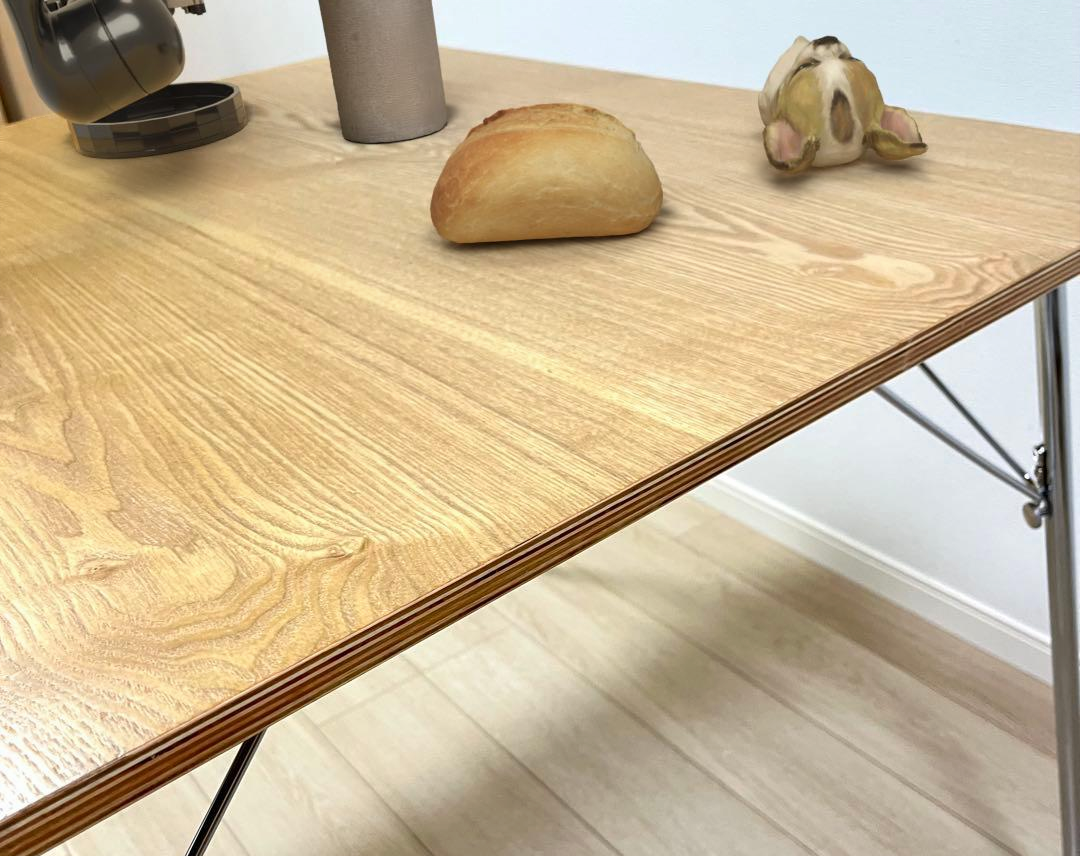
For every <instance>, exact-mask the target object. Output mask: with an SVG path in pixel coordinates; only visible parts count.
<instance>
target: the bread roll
mask: <svg viewBox="0 0 1080 856" xmlns="http://www.w3.org/2000/svg"><path fill="white" fill-rule="evenodd" d="M663 198H664V191H663V186H662V182H661V179H660V177H659V174H658V173H657V170H656V168H655V165H654V163H653V161H652V160H651V159H650V157H649V155H647V153H646V152H645V150H644V147H643V145H642V142H641V141H638V140H637V137H636V133H635V132H634V130H632V129H630V128H629V127H627V126H626V125H624V123H623V121H621V120H619V119H617V117H616V116H614V115H612V114H611V113H607V112H605V111H604V110H601V109H599V108H595V107H592V106H588V105H585V104H579V103H578V104H577V103H569V102H568V103H567V102H566V103H565V102H563V103H561V102H558V103H557V102H552V103H538V104H533V105H528V106H527V105H526V106H524V105H523V106H520V107H517V108H516V107H515V108H514V107H510V108H507V109H506V108H505V109H499V110H497V111H496V112H495V113H492V115H489V116H488V117H484V119H483V120H482V123H479V124H478V125H476V126H474V127H472V128H471V129H469V131H468V133H467V135H466V137H465V138H464V139H463V141H462V142H460V143H459V144H458V145H457V147H456V148H455V149H454V150H453V152H452V153H451V154H450V156H449V157H447V160H446V162H445V164H444V167H443V169H442V171H441V173H440V175H439V177H438V179H437V181H436V183H435V185H434V187H433V191H432V195H431V198H430V199H431V200H430V206H429V211H430V219H431V223H432V225H433V227H434V228H435V231H436V233H437V234H438V235H439V236H440V238H441V239H443V240H447V241H450V242H454V243H457V244H471V243H475V244H476V243H486V242H487V243H488V242H505V241H507V242H509V241H521V240H523V241H524V240H537V239H538V240H539V239H558V238H559V239H560V238H573V237H579V238H580V237H582V238H583V237H607V236H622V235H629V234H636V233H639V232H642V231H643V230H645V229H646V228H648V227H649V226H651V224H652V223H653V222H654V221H655V219H656V218H657V216H658V215H659V214H660V213H661V209H662V205H663V200H664V199H663Z"/></svg>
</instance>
